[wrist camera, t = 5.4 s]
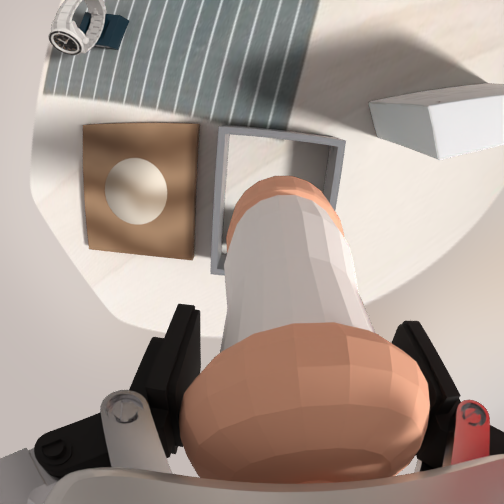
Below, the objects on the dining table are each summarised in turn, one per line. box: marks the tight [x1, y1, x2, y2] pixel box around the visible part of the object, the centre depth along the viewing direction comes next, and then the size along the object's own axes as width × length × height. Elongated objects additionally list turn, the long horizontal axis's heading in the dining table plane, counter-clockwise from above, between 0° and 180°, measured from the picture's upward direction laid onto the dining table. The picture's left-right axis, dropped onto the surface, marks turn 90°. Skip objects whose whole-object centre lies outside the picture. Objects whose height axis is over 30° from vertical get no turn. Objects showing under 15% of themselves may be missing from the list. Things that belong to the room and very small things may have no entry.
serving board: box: [83, 123, 200, 260], centre depth 41 cm, size 18×16×1 cm
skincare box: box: [369, 83, 504, 160], centre depth 28 cm, size 21×6×16 cm, turn 108°
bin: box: [211, 125, 346, 275], centre depth 39 cm, size 18×14×4 cm
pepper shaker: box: [179, 176, 430, 484], centre depth 14 cm, size 7×7×19 cm
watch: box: [49, 0, 129, 55], centre depth 27 cm, size 6×8×11 cm
